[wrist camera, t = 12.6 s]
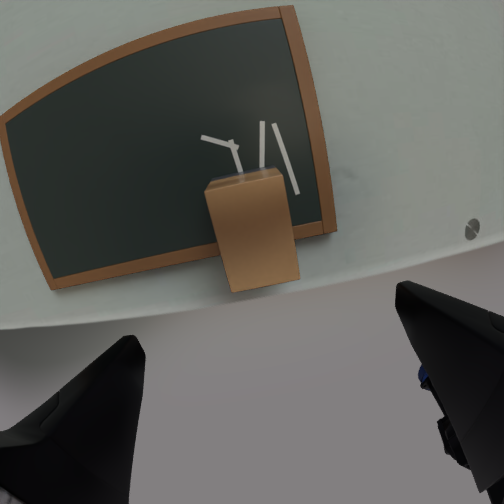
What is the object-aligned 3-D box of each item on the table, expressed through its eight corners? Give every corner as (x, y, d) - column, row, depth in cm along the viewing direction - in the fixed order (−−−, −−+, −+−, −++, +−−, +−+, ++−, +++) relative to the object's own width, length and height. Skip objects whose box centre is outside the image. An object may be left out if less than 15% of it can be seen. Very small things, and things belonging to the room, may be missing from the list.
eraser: (290, 251, 20) (300, 279, 16) (233, 262, 20) (231, 293, 17) (274, 164, 18) (283, 174, 14) (211, 178, 18) (203, 191, 14)
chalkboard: (333, 226, 21) (337, 231, 20) (56, 285, 22) (50, 291, 21) (291, 10, 14) (293, 4, 13) (3, 117, 15) (-4, 118, 14)
